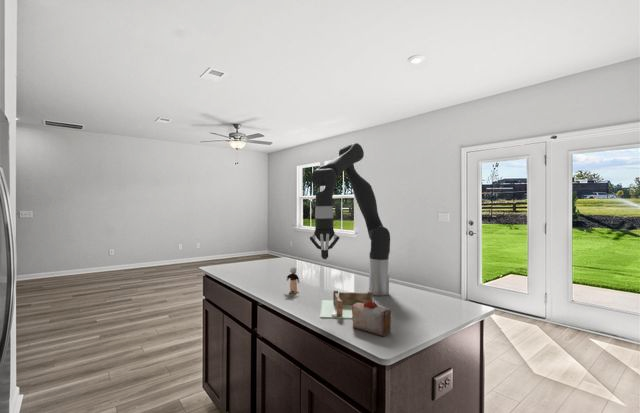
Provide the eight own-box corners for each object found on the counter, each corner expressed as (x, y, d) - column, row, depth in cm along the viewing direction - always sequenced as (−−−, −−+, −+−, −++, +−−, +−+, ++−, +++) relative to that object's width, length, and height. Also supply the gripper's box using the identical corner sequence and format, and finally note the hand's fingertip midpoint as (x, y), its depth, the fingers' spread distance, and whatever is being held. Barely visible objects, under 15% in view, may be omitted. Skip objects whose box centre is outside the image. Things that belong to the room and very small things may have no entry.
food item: (348, 328, 112) (348, 300, 112) (360, 321, 118) (360, 295, 118) (382, 338, 104) (383, 308, 104) (393, 331, 110) (394, 303, 110)
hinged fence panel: (332, 303, 137) (333, 290, 137) (337, 303, 137) (338, 290, 137) (337, 316, 122) (337, 301, 122) (342, 315, 122) (343, 301, 122)
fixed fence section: (372, 305, 137) (372, 291, 137) (372, 306, 135) (372, 292, 134) (338, 304, 137) (339, 290, 137) (338, 305, 135) (339, 291, 135)
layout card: (373, 302, 142) (373, 301, 142) (380, 319, 120) (380, 318, 120) (322, 301, 143) (322, 300, 143) (319, 318, 122) (319, 316, 122)
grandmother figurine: (301, 292, 157) (302, 266, 157) (298, 294, 153) (299, 267, 153) (287, 290, 160) (287, 265, 159) (284, 292, 156) (284, 266, 156)
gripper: (339, 216, 135) (339, 257, 136) (308, 217, 135) (308, 257, 135) (340, 217, 128) (341, 260, 128) (308, 217, 128) (308, 260, 128)
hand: (324, 258), depth 132 cm, fingers closed
